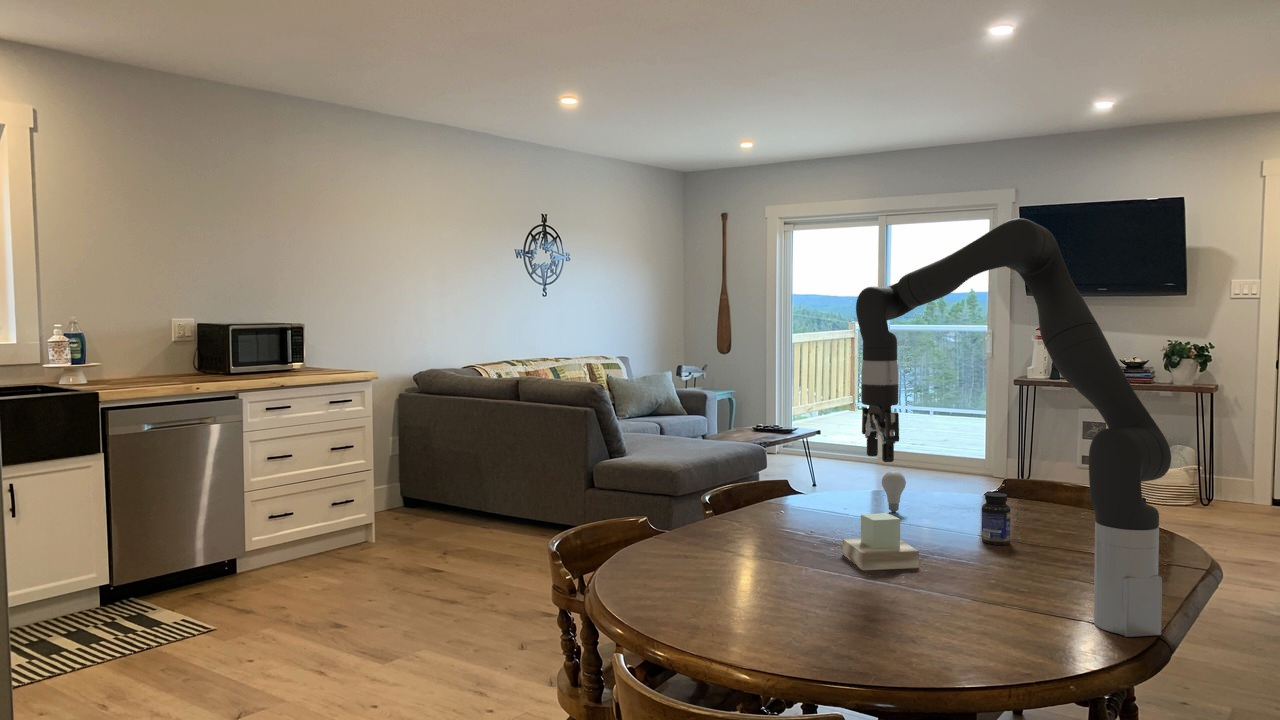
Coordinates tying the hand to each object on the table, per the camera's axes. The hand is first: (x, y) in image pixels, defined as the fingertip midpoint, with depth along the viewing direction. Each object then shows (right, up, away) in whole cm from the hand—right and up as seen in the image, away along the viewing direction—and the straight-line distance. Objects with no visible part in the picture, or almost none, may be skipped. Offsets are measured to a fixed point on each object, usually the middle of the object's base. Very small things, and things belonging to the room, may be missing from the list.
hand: (879, 458), depth 189 cm
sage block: (0, -18, +1) cm, 18 cm away
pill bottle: (+31, -21, +16) cm, 40 cm away
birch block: (0, -22, +1) cm, 22 cm away
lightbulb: (+17, -20, +48) cm, 55 cm away
